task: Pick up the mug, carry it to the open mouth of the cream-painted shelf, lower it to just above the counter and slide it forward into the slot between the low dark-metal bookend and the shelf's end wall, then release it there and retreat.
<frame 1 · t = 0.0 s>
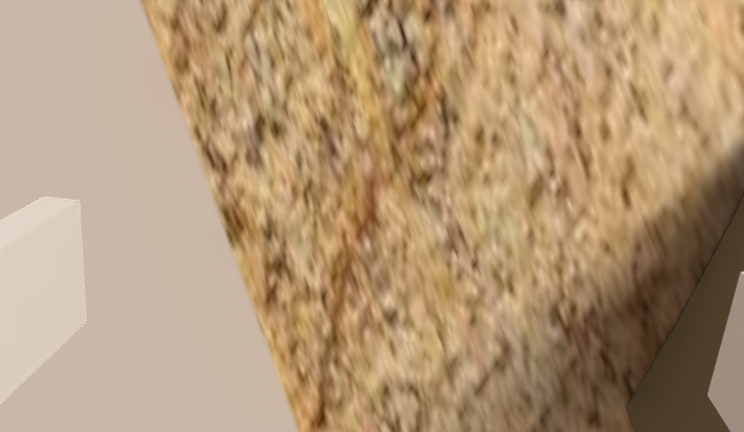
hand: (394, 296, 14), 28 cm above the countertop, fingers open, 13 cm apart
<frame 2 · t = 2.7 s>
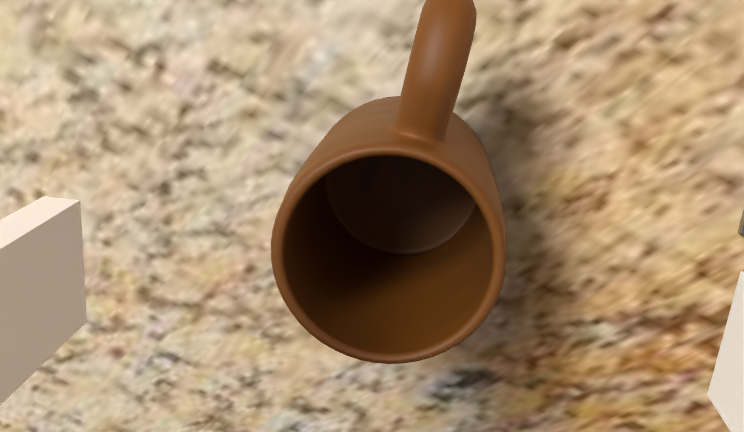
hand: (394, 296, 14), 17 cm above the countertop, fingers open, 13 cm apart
mug: (415, 130, 30), on the countertop
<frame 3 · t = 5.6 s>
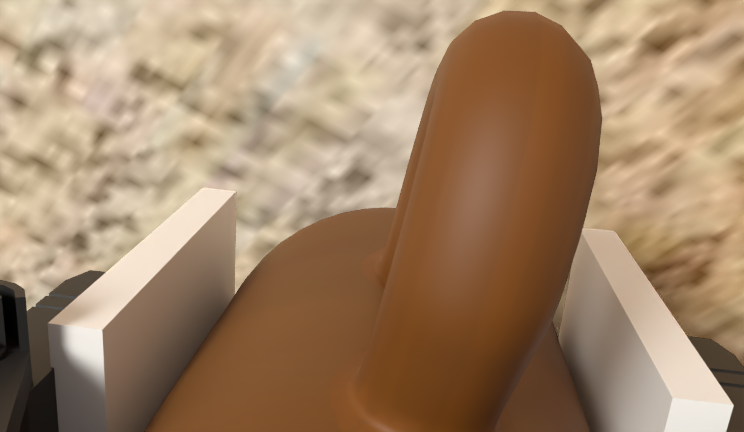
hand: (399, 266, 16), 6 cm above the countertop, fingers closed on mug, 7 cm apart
mug: (414, 263, 16), point 5 cm above the countertop, touching gripper
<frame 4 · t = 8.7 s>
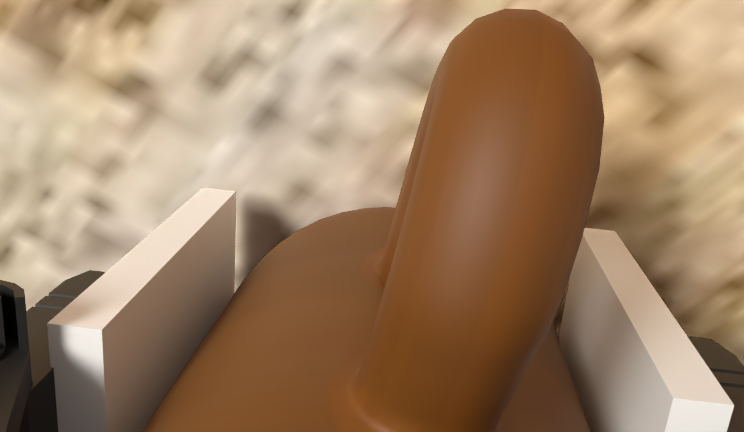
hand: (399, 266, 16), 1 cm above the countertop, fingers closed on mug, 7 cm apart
mug: (414, 263, 16), point 1 cm above the countertop, touching gripper
when the fingers open (1 cm above the countertop, at t = 12.0 s): mug stays where it is, on the countertop.
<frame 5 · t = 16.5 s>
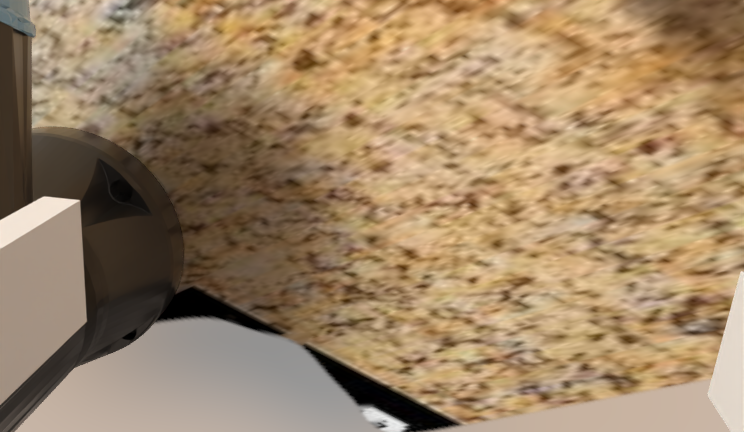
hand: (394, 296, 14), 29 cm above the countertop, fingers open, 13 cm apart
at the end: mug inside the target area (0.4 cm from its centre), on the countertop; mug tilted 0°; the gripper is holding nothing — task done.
